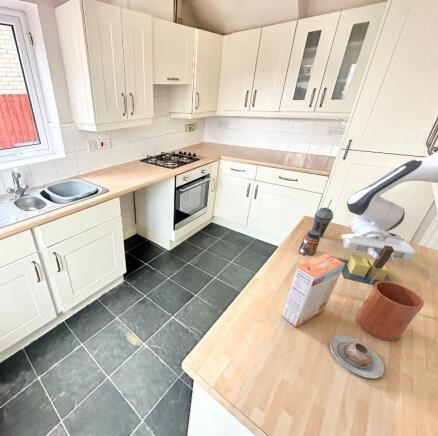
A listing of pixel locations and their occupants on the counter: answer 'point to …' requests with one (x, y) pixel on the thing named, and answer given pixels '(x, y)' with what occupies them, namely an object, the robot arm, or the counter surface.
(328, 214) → the beverage cup
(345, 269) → the butter dish
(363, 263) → the butter
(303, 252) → the supplement bottle
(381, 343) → the counter surface
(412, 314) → the crock
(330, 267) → the cracker box
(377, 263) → the knife
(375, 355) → the grey lid
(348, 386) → the counter surface
